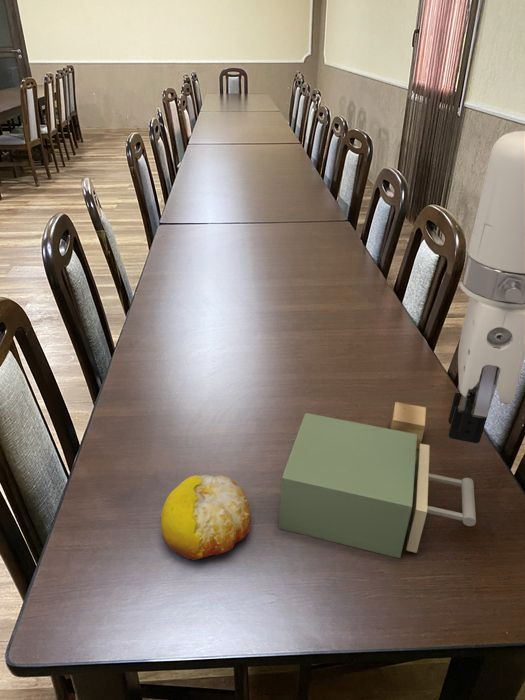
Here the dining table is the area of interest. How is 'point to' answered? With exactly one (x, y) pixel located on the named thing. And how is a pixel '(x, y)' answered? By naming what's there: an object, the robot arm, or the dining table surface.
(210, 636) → the dining table surface
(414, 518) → the drawer
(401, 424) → the block
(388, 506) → the cabinet
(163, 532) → the fruit
